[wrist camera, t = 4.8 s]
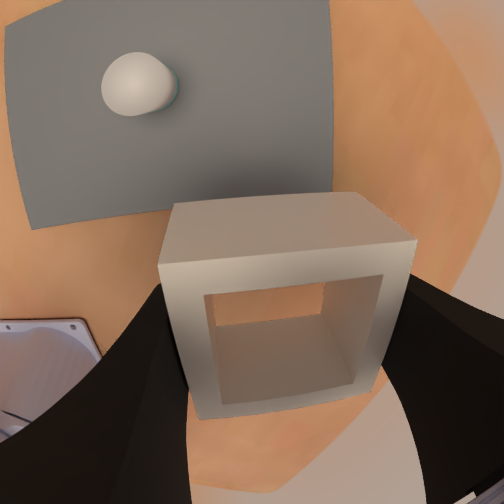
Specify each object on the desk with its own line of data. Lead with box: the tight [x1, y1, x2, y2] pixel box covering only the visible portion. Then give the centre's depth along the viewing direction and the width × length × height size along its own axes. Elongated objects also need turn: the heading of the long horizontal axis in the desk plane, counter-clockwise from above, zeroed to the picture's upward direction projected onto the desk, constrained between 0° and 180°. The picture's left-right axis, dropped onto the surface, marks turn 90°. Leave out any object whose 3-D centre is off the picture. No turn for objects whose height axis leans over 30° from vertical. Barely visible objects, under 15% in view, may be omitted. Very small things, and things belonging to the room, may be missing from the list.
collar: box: [157, 191, 418, 420], centre depth 9 cm, size 6×6×4 cm
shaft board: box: [4, 0, 334, 230], centre depth 11 cm, size 18×13×6 cm
